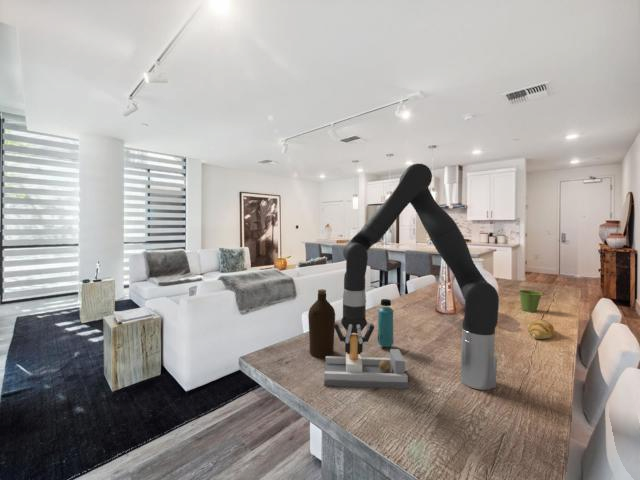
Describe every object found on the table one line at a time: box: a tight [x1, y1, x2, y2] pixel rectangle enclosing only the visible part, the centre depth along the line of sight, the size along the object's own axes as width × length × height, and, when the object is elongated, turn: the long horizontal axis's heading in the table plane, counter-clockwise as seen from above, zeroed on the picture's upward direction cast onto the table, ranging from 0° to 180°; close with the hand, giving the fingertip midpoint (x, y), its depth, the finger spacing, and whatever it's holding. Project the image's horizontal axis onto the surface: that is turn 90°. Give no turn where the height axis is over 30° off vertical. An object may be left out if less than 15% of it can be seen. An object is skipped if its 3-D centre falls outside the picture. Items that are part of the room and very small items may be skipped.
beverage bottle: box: [377, 298, 395, 348], centre depth 123 cm, size 6×7×20 cm
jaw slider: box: [345, 333, 362, 372], centre depth 100 cm, size 5×9×12 cm, turn 177°
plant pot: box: [518, 289, 543, 313], centre depth 177 cm, size 12×12×11 cm
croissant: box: [527, 319, 555, 340], centre depth 139 cm, size 21×10×8 cm, turn 134°
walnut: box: [379, 360, 391, 373], centre depth 99 cm, size 4×4×4 cm
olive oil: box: [307, 288, 336, 358], centre depth 117 cm, size 11×11×25 cm
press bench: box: [323, 348, 409, 389], centre depth 100 cm, size 26×14×8 cm, turn 87°
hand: (353, 353), depth 100 cm, fingers closed on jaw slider, 3 cm apart
